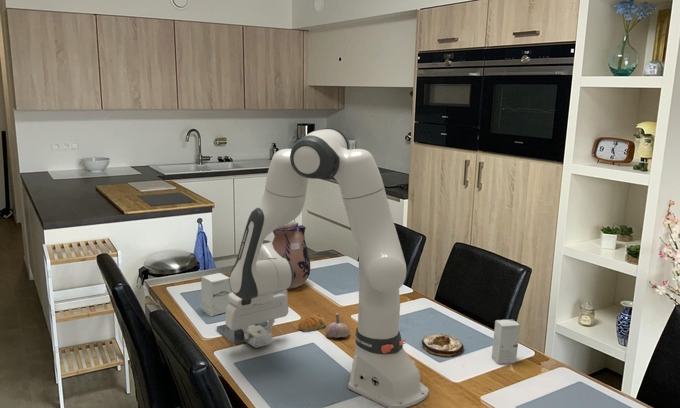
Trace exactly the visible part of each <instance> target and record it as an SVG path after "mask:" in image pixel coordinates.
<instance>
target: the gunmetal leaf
mask: <svg viewBox="0 0 680 408" xmlns="http://www.w3.org/2000/svg"><path fill="white" fill-rule="evenodd" d="M267 324H268V321H266V322H262V323H258V324H254V325H255V326H258V325H260V326H262V327H263V328H264V327H266V326H267ZM216 332H217V333H218V334H220V335H221V336H223V337H224V338H225V339H226V340H228V341H229V342H230V343H232V345H234V346H235V345H239V344H241V343H245V340H244V332H243V330H242V329H241V328H239V329H236V330H232V329H230V328H229V327H228V326H227V325H226V323H225V324H222V325H217V326H216Z"/></svg>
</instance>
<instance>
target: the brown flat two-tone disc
mask: <svg viewBox="0 0 680 408" xmlns="http://www.w3.org/2000/svg"><path fill="white" fill-rule="evenodd" d="M421 345H422V347H423V348H424V350H425V351H426V352H427V353H428V354H430V355H433V356H435V357H441V358H447V357H455V356H456V357H457V356H458V355H459V354H462V355H464V352H463V350H464V349H465V347H464V344H463V342H462V341H460V340H459V339H458V338H456V337H455V336H453V335H450V334H449V335H446V334H444V333H433V334H429V335H427V336H424V337H423V338H422V340H421Z"/></svg>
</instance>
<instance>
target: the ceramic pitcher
mask: <svg viewBox="0 0 680 408" xmlns="http://www.w3.org/2000/svg"><path fill="white" fill-rule="evenodd" d="M306 228H307V227H306V226H305V225H300V224H299V222H295V221H291V222H289V223H287V224H285V225H283V226H281V227H279V228H277V229H276V230H274V231H272V233H273V235H274V237H273V240H272V241H271V242H272V244H273V247H274V250H275V251H276V252H277V253H278V254H279V255H280V256H281V257H283V258H285V259H287V260H288V261H289V262H290V263H291V264H292V265H293V268H294V279H293V283H292V285H291V286H290V287H289V288H288V289H287V290H292V289H296V288H299V287H301V286H302V285H303V284H304V283H305V282H307V280H308V278H309V277H310V274H311V261H310V255H309V252H308V251H309V250H308V247H307V243H306V238H305V233H306Z"/></svg>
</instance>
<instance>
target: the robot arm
mask: <svg viewBox="0 0 680 408" xmlns="http://www.w3.org/2000/svg"><path fill="white" fill-rule="evenodd" d="M349 141H350V140H349V139H348V136H347V135H346V134H345V132H343V131H341V130H340V129H337V128H334V127H324V128H321V129H319V130H314V131H311V132H309V133H307V134H306V135H305V136H302V137H301V138H299V139H298V140H297V141H296V142H295V143H294V145H293V146H292V148H282V149H280V150H277V151H276V152H275V153H273V155H272V158H271V160H270V164H269V167H268V170H267V174H266V175H267V176H266V180H265V186H264V192H263V194H262V196H261V197H262V198H261V199H260V201H259V203H258V205H257V206H256V207H255V209H253V210H252V211H251V212H250V214H249V217H248V219H247V222H246V225H245V229H244V232H243V235H242V240H241V243H240V247H239V250H238V253H237V256H236V261H235V263H234V265H233V267H232V268H231V271H230V274H229V284H230V291H231V292H230V294H229V295H228V300H229V301H230V302H229V304H228V305H227V308H226V312H225V320H224V321H225V324H226V325H227V326H228V327H229V328H230V329H232V330H236V329H239V328H241V329H242V330H243V332H244V338H245V339H246V340H247V339H250V338H251V333H250V332H249V331H247V329H248V326H251V325H254V324H258V323H262V322H266V321H268V324H267V326H266V327H264V328H265V329H267V330H268V331H270V332H271V333H272V329H273V326H274V323H275V322H276V321H275V320H277V319H281V318H284V317H287V316H288V313H289V301H288V290H289V289H288V288H289V287H290V286H291V285H292V283H293V279H294V268H293V265H292V264H291V263H290V262H289V261H288V260H287V259H285V258H283V257H281V256H280V255H279V254H278V253H277V252H276V251H275V250H274V247H273V244H272V242H273V241H270V240H268V239H267V240H265V239H266V238H267V237H268V236H269V235H270V234H271V233H273V231H274V230H276V229H277V228H279V227H281V226H283V225H285V224H287V223H289V222H294V220H295V219H297V218H298V217H299V216H300V214H301V213H302V211H303V209H304V207H305V202H306V198H307V197H306V195H307V190H308V189H307V188H308V182H309V180H310V179H313V180H314V179H316V180H317V179H320V180H326V181H330V180H332V179H333V178H334V180H336V182H337V183H338V186H339V189H340V193H341V197H342V200H343V206H344V208H345V212H346V215H347V219H348V223H349V227H350V231H351V234H352V238H353V241H354V246H355V249H356V252H357V255H358V256H357V257H358V311H357V312H358V314H357V327H356V329H355V344H356V346H355V351H354V355H353V359H352V366H351V371H350V373H349V376H348V377H349V381H348V384H347V388H348V389H349V390H351V391H353V392H354V393H357V394H359V395H361V396H363V397H366V398H367V399H369V400H371V401H373V402H376V403H378V404H380V405H382V406H385V408H386V407H387V408H410V407H412V406H415V405H417V404H418V403H421V402H423V401H424V400H425V399H426V398H428V396H429V394H430V390H429V388H428V387H427V386H426V385H425V384H423V382H421V373H420V369H419V368H418V367H417V364H416V361H415V360H414V359H411V358H410V356H409V354H408V353H407V351H406V350H405V348H403V347H404V345H405V344H406V341H407V340H406V339H403V338H402V336H401V331H400V313H401V312H400V311H401V298H400V296H401V295H400V288H402V286H403V285H404V283H405V281H406V278H407V277H406V276H407V264H406V260H405V256H404V252H403V249H402V245H401V242H400V239H399V235H398V232H397V229H396V225H395V223H394V220H393V216H392V213H391V208H390V205H389V200H388V196H387V193H386V189H385V185H384V182H383V177H382V175H381V173H380V170H379V167H378V165H377V163H376V160H375V159H374V156H373V155H372V153H371V152H370V151H368V150H366V149H363V148H354V149H350V142H349Z"/></svg>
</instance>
